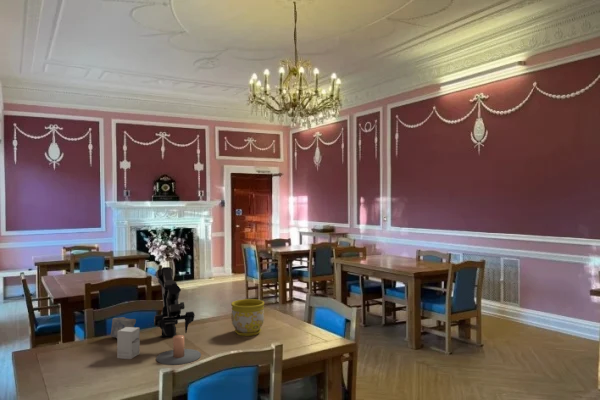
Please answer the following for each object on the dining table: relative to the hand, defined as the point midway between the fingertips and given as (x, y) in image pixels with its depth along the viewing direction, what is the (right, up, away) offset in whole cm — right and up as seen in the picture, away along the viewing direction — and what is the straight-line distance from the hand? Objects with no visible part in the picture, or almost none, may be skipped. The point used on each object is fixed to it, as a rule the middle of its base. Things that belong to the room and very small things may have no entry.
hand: (176, 334), depth 219 cm
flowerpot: (+31, -8, +30) cm, 44 cm away
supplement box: (-21, -9, -6) cm, 23 cm away
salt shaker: (+3, -8, -7) cm, 11 cm away
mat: (+3, -8, -7) cm, 12 cm away
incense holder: (-34, -9, +22) cm, 41 cm away
